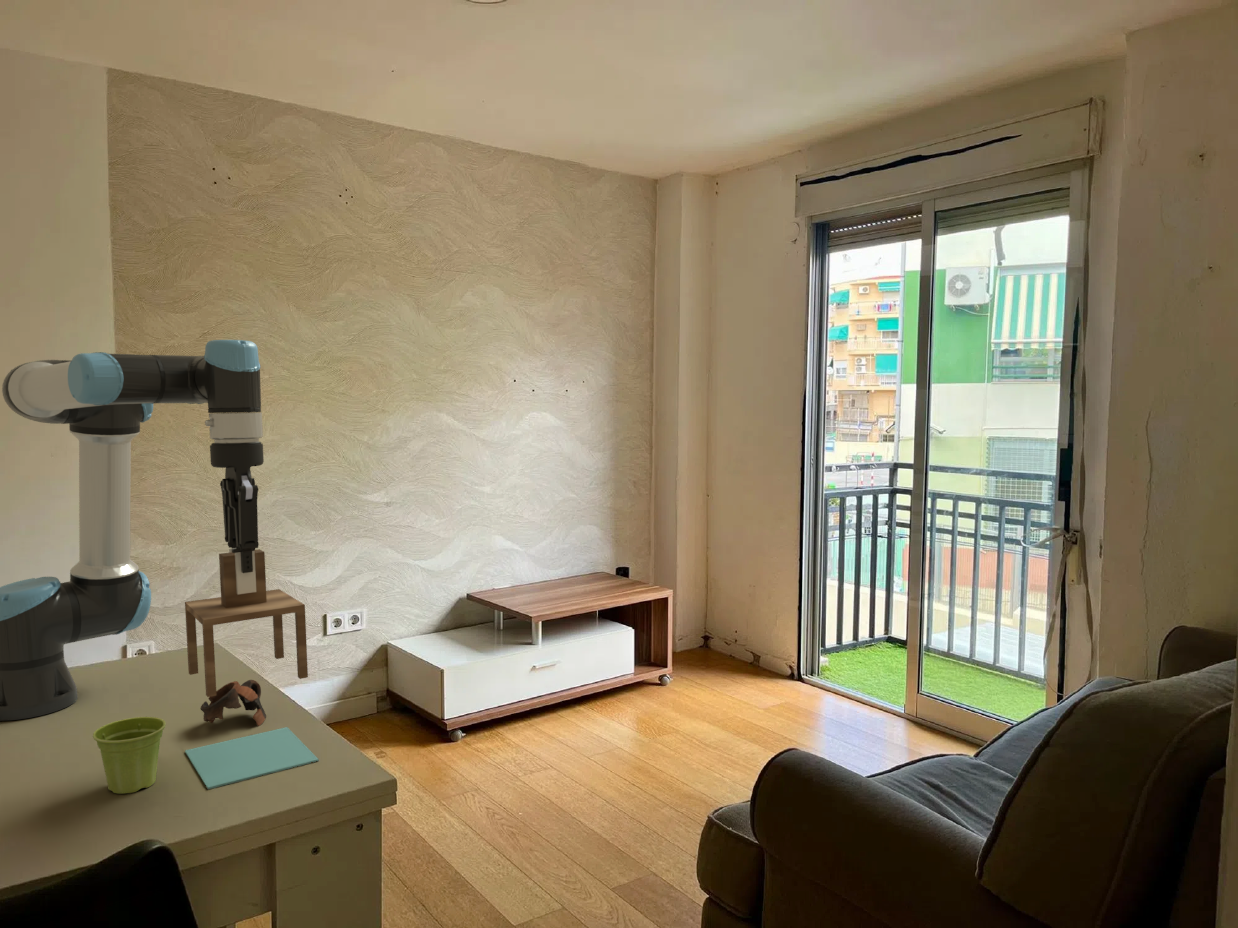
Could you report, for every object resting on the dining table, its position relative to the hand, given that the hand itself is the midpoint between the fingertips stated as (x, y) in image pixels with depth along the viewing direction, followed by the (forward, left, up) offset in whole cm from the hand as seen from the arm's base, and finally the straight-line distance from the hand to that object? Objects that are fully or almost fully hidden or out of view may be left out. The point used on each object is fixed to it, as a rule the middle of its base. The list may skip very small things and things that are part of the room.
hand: (243, 590), depth 136 cm
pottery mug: (-18, +2, -27) cm, 33 cm away
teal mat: (0, 0, -27) cm, 27 cm away
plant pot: (0, -17, -27) cm, 32 cm away
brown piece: (0, 0, -14) cm, 14 cm away
